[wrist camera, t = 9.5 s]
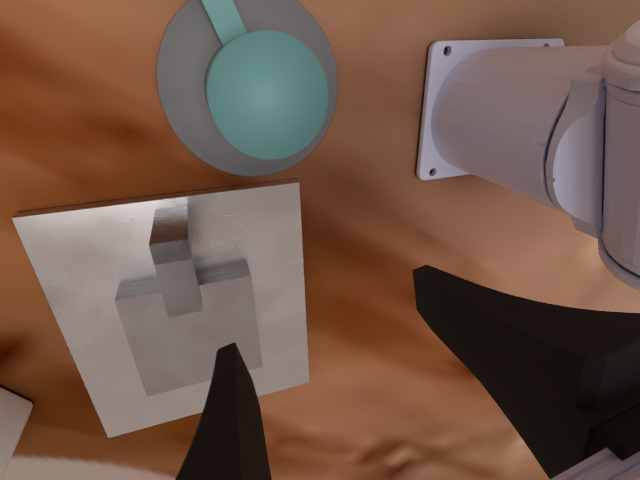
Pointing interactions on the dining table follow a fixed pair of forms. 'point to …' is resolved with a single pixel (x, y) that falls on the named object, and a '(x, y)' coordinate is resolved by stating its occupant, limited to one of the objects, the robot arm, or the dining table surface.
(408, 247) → the dining table surface
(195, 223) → the post base
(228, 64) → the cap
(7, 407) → the medicine bottle
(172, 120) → the coaster
